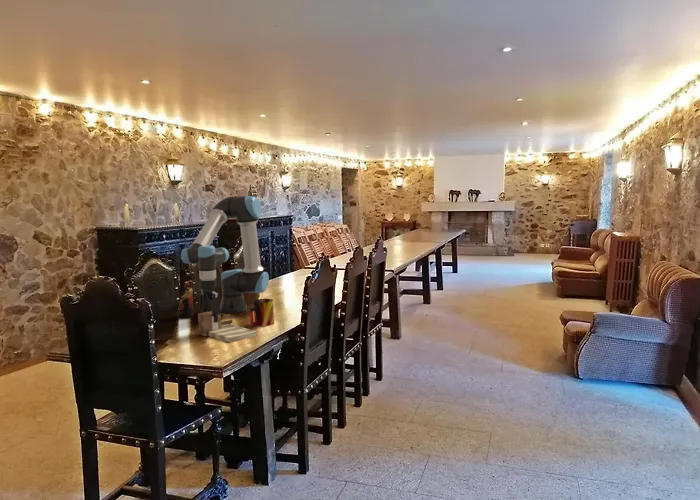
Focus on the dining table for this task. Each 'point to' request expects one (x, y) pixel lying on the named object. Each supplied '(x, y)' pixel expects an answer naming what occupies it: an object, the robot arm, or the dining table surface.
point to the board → (232, 333)
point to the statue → (186, 302)
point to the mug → (262, 312)
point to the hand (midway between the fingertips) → (210, 327)
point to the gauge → (209, 322)
